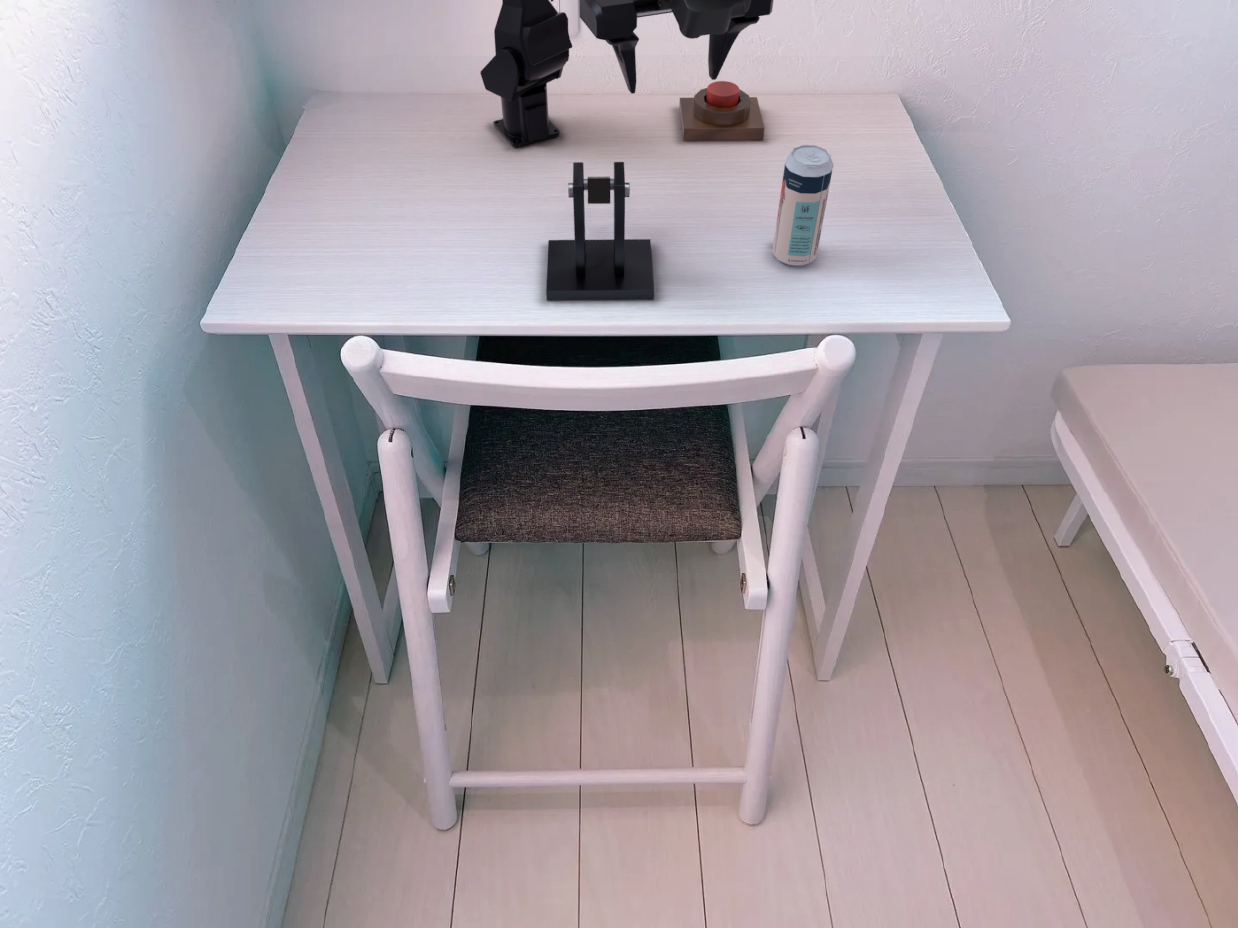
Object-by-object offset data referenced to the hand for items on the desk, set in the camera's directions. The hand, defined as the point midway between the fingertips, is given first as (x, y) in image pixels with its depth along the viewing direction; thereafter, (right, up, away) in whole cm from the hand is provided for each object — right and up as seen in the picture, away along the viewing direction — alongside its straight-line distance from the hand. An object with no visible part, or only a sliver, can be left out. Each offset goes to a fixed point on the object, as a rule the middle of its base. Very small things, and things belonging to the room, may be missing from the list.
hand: (672, 85), depth 103 cm
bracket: (-8, -20, +1) cm, 21 cm away
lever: (-8, -13, -2) cm, 15 cm away
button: (+7, +6, +20) cm, 22 cm away
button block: (+7, +3, +22) cm, 24 cm away
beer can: (+13, -17, +3) cm, 22 cm away
